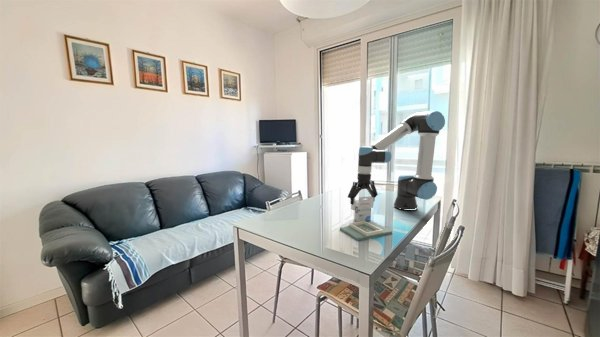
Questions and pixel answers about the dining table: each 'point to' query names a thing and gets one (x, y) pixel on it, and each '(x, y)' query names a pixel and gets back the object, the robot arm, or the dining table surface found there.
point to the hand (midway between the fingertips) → (362, 208)
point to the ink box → (362, 209)
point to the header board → (365, 230)
